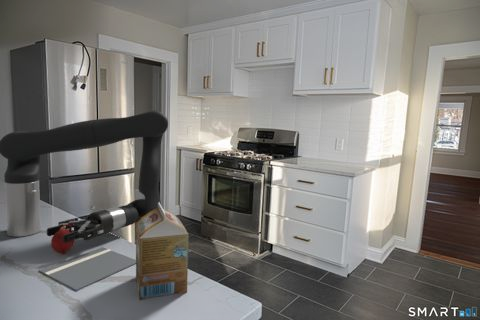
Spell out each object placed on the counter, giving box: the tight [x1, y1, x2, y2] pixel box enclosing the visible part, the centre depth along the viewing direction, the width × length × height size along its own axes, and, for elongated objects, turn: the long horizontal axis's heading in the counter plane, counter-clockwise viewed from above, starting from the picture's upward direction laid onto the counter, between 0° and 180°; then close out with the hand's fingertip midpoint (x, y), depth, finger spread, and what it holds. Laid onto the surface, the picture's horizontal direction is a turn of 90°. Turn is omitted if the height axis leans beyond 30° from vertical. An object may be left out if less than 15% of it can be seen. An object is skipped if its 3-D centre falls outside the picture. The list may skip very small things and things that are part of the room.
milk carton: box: [135, 202, 190, 301], centre depth 74 cm, size 11×10×19 cm
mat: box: [38, 246, 136, 292], centre depth 83 cm, size 16×18×1 cm
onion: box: [50, 226, 76, 255], centre depth 89 cm, size 6×6×8 cm
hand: (55, 235), depth 87 cm, fingers open, 7 cm apart
